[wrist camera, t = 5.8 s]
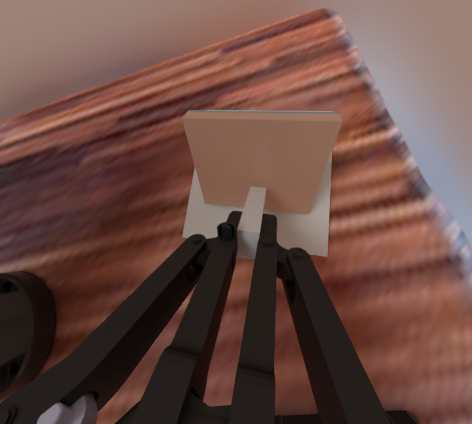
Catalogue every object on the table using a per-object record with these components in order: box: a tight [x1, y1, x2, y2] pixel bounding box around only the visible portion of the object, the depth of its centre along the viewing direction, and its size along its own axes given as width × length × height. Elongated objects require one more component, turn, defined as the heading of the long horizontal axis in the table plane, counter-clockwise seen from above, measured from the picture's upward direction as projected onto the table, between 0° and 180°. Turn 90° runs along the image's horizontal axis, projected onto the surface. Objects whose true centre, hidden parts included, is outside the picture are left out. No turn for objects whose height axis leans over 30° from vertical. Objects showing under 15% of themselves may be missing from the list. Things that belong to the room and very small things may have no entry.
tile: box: [182, 110, 343, 214], centre depth 18 cm, size 12×2×10 cm, turn 82°
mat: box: [182, 110, 334, 257], centre depth 23 cm, size 17×18×1 cm
